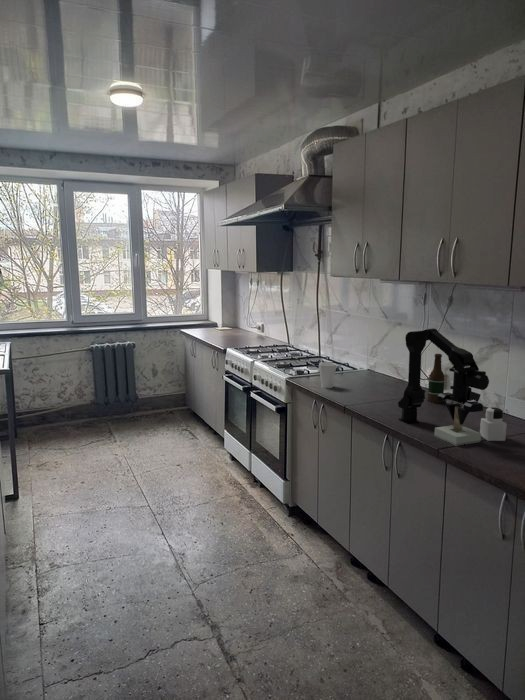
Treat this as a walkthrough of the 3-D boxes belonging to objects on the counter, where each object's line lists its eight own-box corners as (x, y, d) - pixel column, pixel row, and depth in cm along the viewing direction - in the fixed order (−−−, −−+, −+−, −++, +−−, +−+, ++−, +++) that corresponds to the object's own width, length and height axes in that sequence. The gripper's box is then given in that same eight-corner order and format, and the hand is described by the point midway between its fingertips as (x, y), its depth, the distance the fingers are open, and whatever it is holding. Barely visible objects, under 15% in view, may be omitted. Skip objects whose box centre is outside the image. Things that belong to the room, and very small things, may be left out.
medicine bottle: (496, 434, 206) (499, 406, 204) (505, 441, 199) (508, 411, 197) (479, 435, 205) (481, 406, 203) (487, 441, 198) (490, 411, 196)
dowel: (451, 428, 201) (453, 406, 199) (458, 427, 202) (459, 405, 201) (457, 431, 198) (459, 408, 196) (463, 430, 199) (465, 407, 198)
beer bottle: (424, 401, 255) (427, 354, 251) (431, 398, 261) (434, 352, 257) (439, 404, 250) (442, 356, 246) (446, 401, 256) (449, 354, 252)
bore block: (434, 436, 204) (434, 427, 203) (458, 432, 208) (458, 424, 208) (455, 445, 193) (456, 437, 192) (480, 442, 197) (481, 433, 197)
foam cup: (331, 384, 290) (331, 361, 288) (338, 388, 282) (339, 365, 279) (315, 385, 287) (316, 362, 285) (322, 389, 279) (323, 366, 276)
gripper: (495, 388, 191) (492, 428, 194) (459, 377, 208) (457, 414, 211) (472, 390, 187) (469, 431, 190) (437, 379, 204) (435, 417, 207)
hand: (458, 423), depth 200 cm, fingers closed on dowel, 3 cm apart
